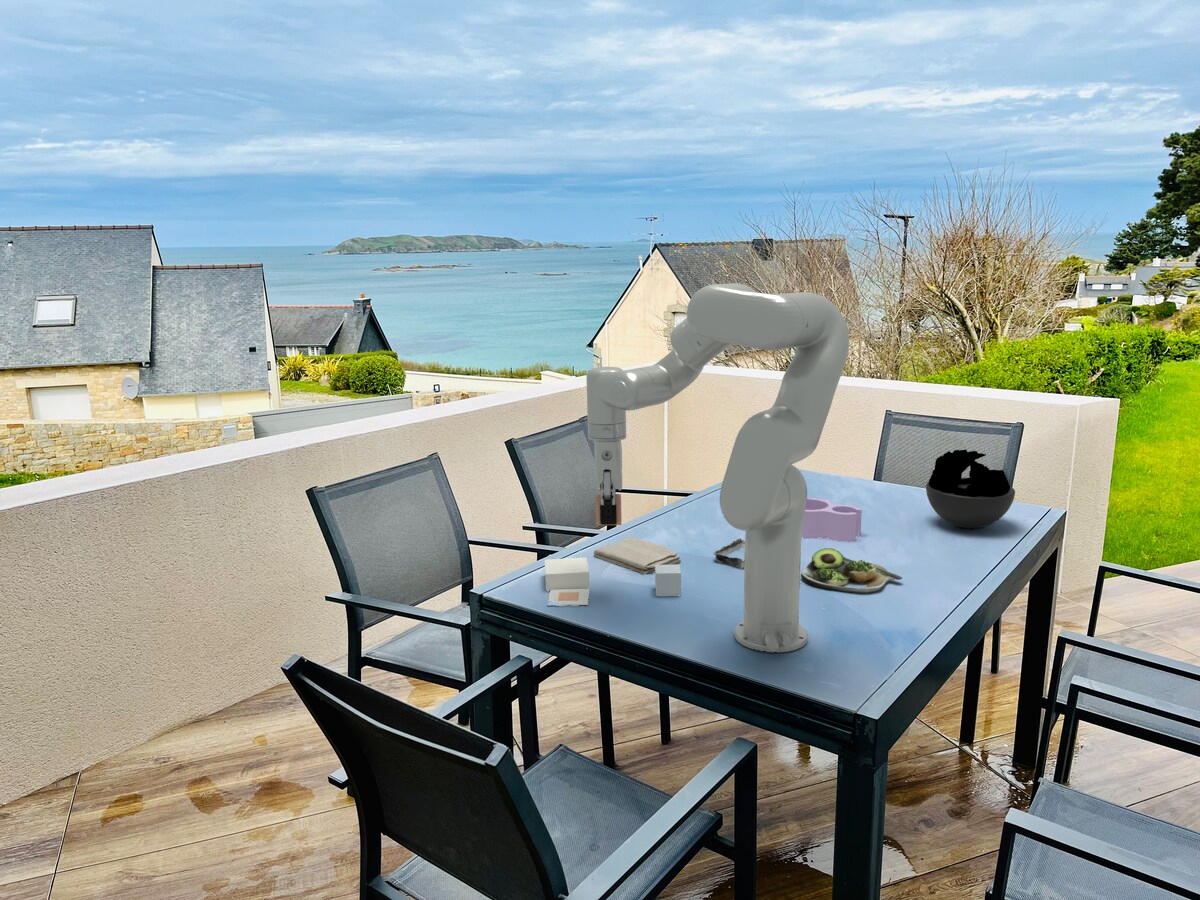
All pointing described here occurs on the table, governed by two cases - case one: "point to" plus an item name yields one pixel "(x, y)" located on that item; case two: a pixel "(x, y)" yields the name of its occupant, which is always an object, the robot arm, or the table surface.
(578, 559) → the base block
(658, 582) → the grey blue block
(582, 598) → the card
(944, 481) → the coal bowl
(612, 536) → the table surface
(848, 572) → the salad plate
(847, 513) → the pink desk organizer
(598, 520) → the terracotta block
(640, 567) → the washcloth
